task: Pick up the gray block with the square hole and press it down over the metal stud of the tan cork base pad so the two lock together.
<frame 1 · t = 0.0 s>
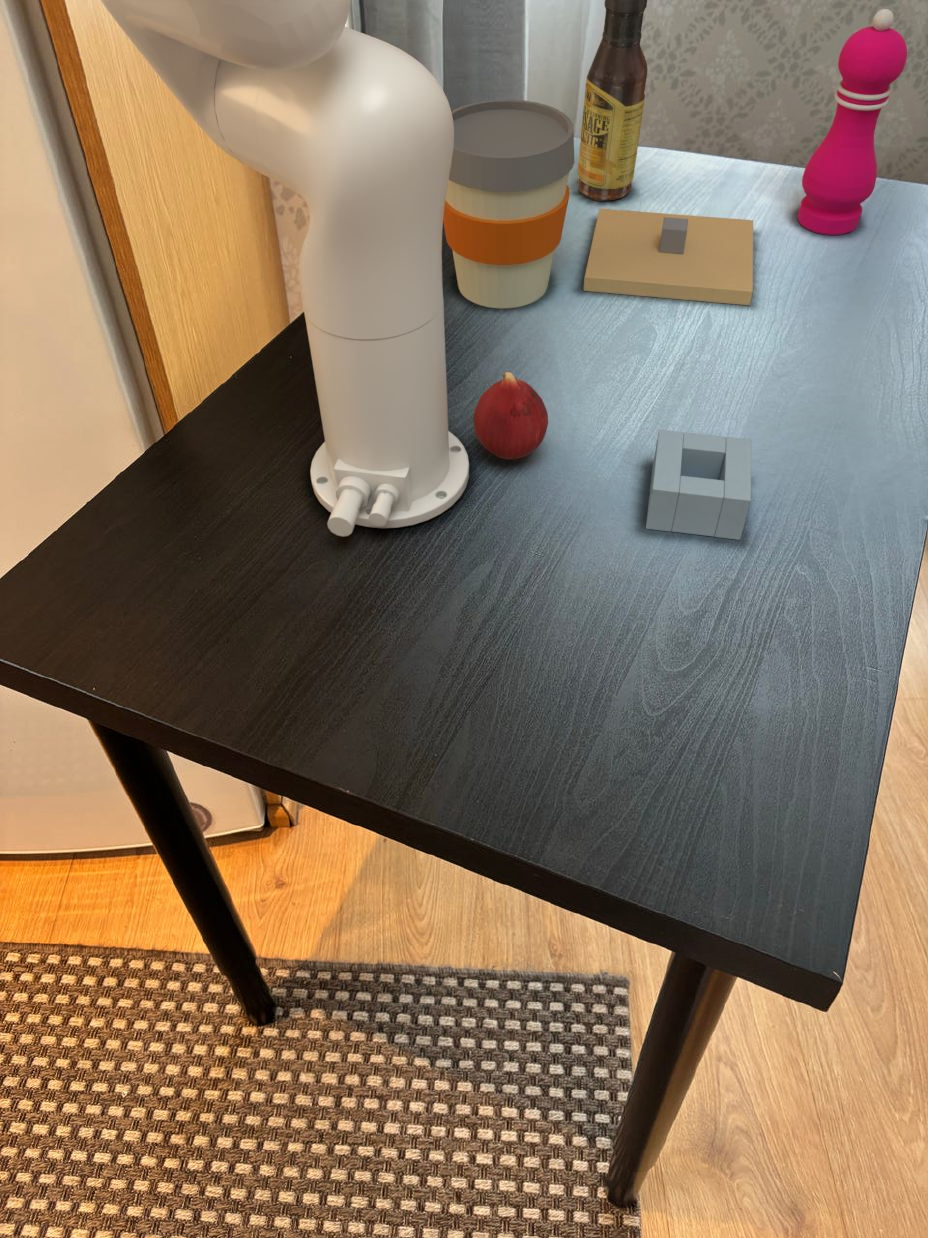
onion: (509, 458, 79), on the table
sauce bottle: (604, 193, 108), on the table
gray block: (694, 503, 75), on the table
pepper mill: (826, 222, 103), on the table
base pad: (669, 261, 98), on the table
reusable coffee cup: (502, 285, 96), on the table
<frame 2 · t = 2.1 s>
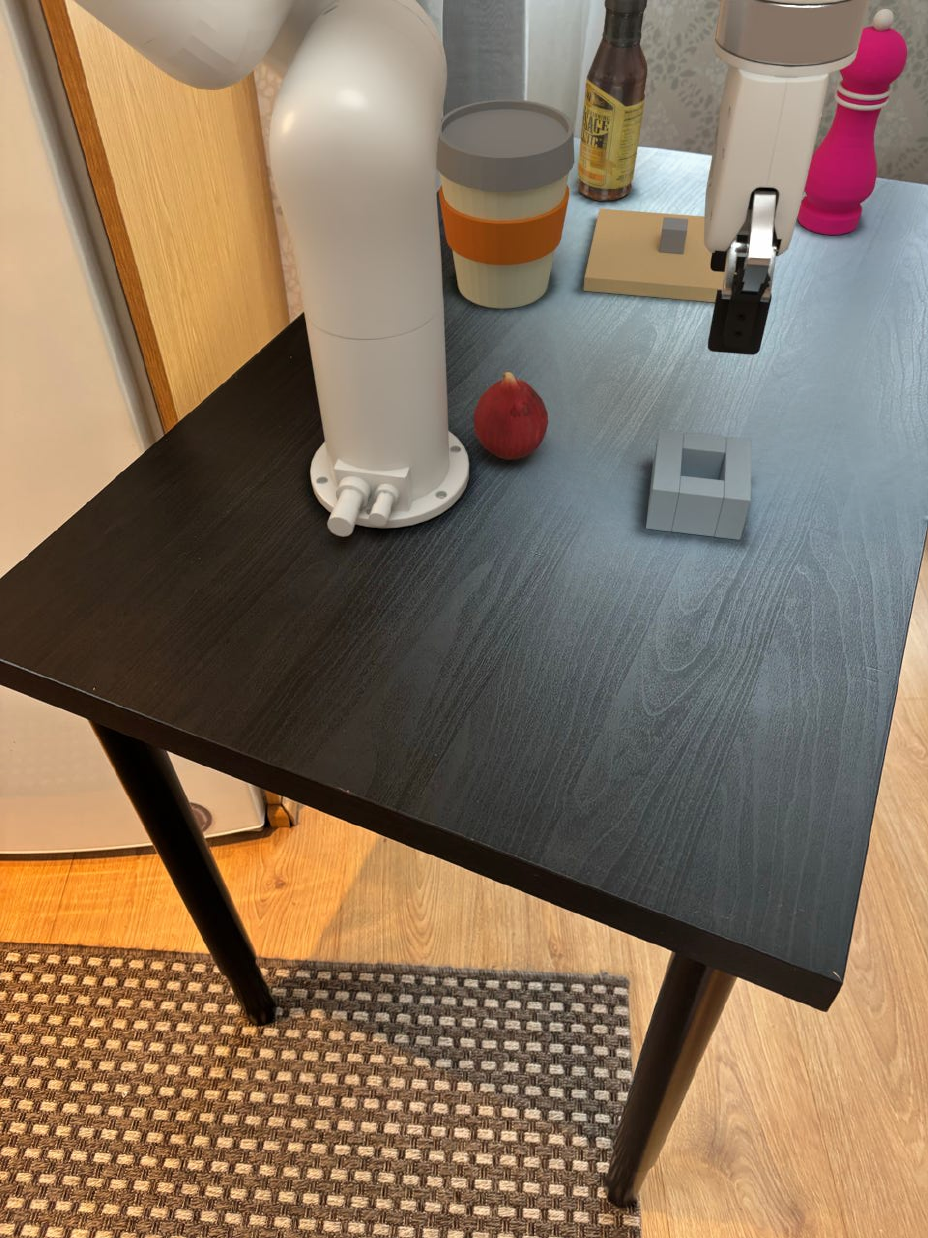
hand: (732, 308, 64), 16 cm above the table, tool pointing down, fingers open, 9 cm apart
nothing on the table moved.
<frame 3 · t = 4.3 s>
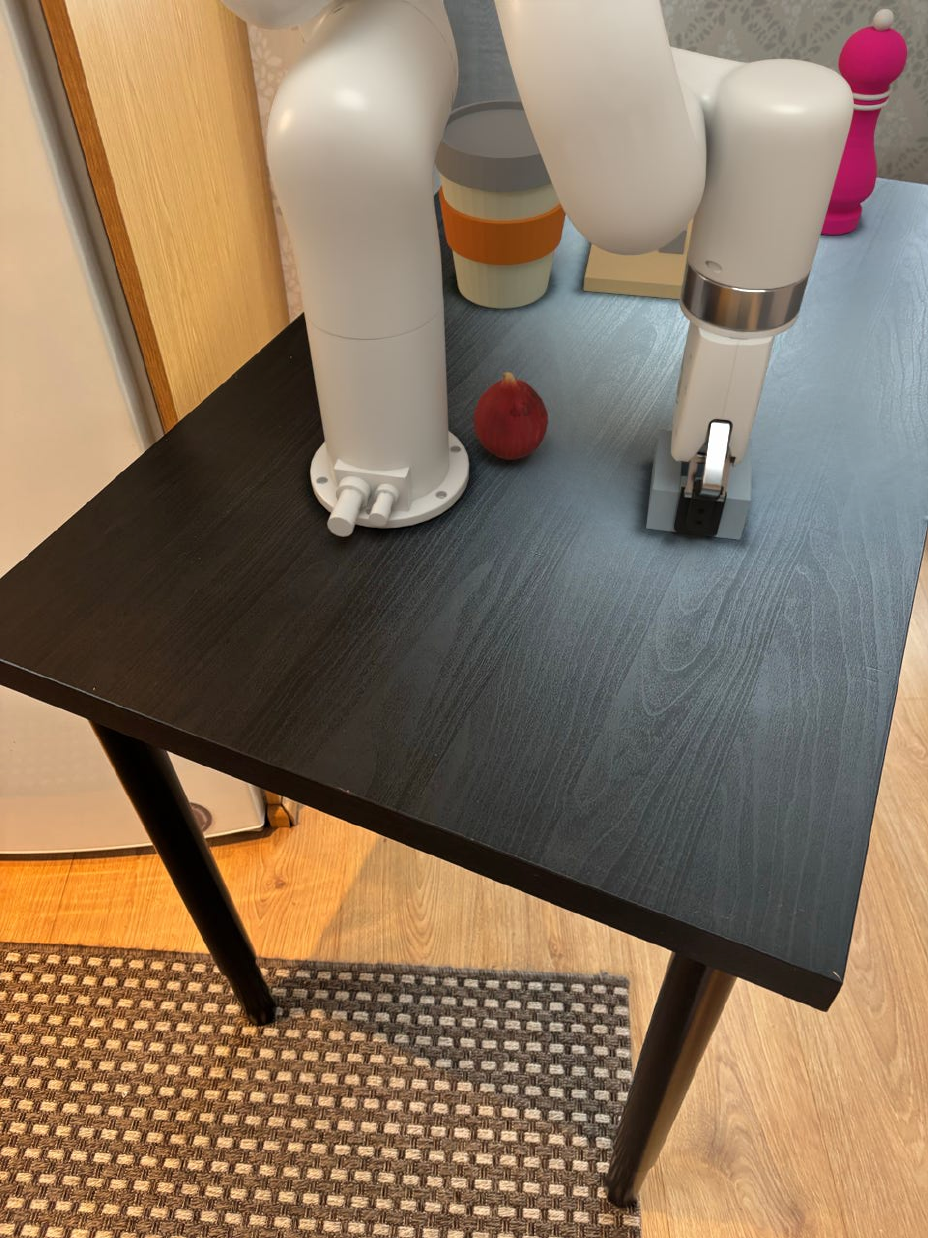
hand: (697, 495, 74), 1 cm above the table, tool pointing down, fingers closed on gray block, 7 cm apart
gray block: (694, 503, 75), on the table, touching gripper
everything else where it was.
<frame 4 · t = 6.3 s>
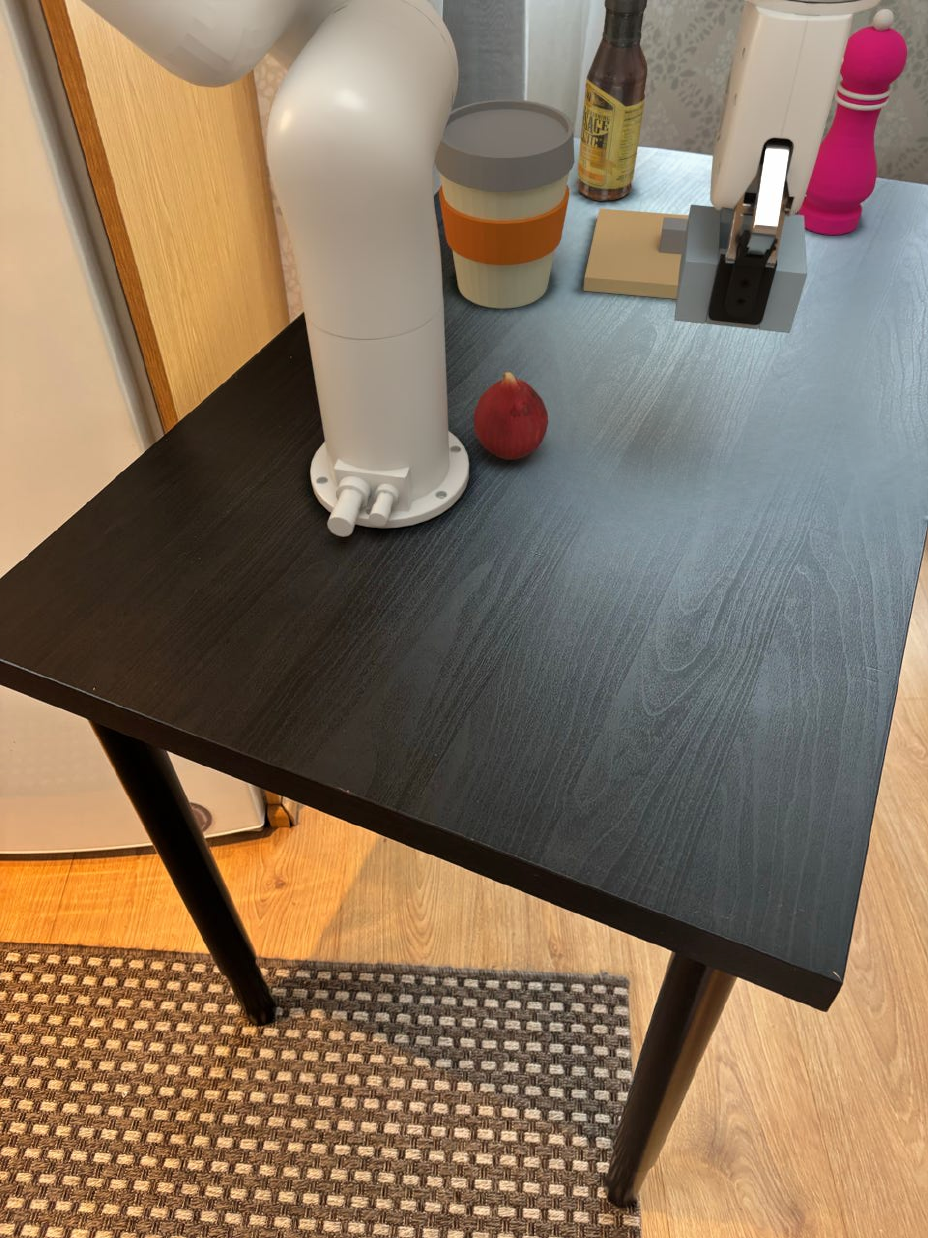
hand: (735, 284, 61), 19 cm above the table, tool pointing down, fingers closed on gray block, 7 cm apart
gray block: (732, 296, 61), point 18 cm above the table, touching gripper
everything else where it was.
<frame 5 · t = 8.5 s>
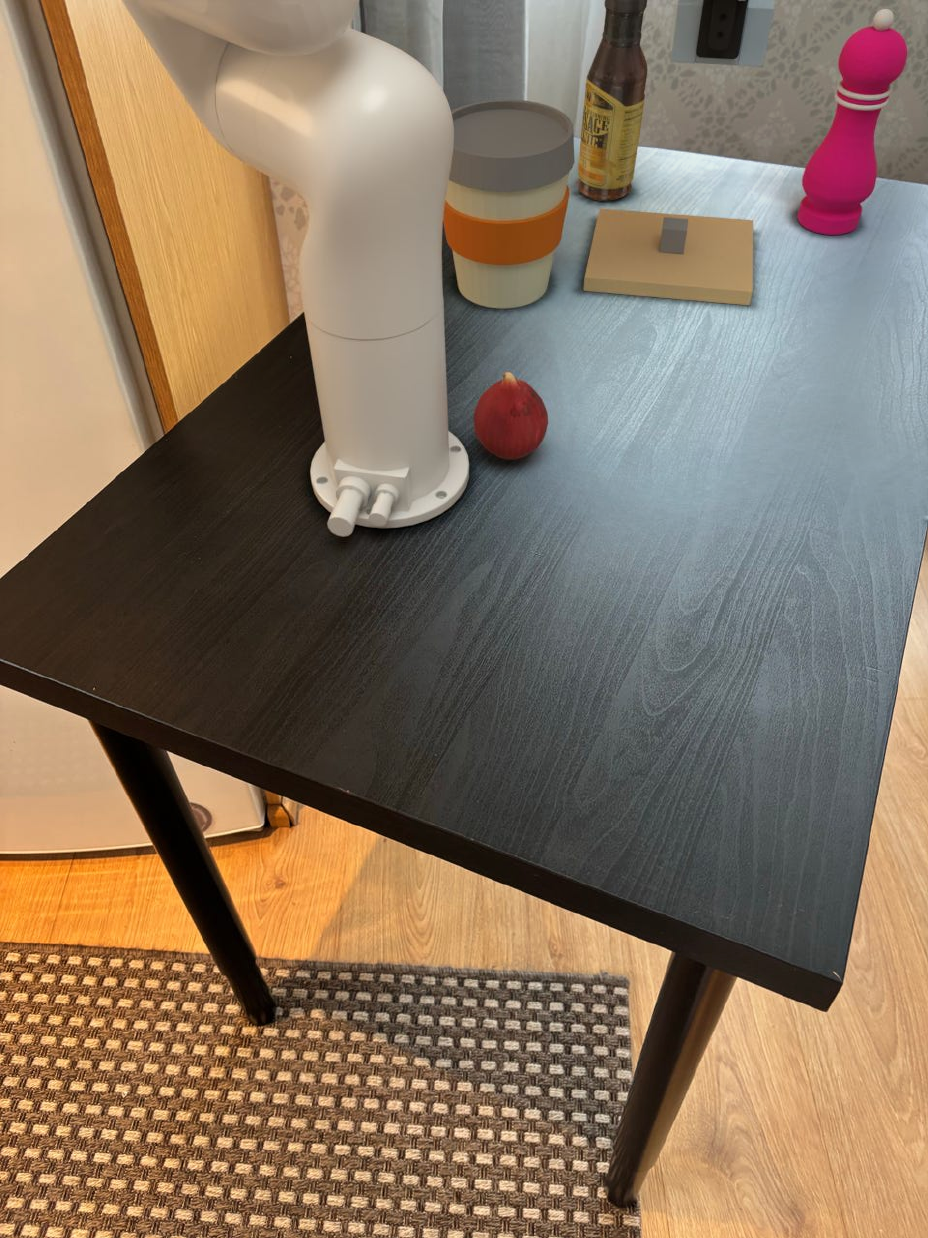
hand: (719, 35, 76), 23 cm above the table, tool pointing down, fingers closed on gray block, 7 cm apart
gray block: (718, 47, 77), point 22 cm above the table, touching gripper
everything else where it was.
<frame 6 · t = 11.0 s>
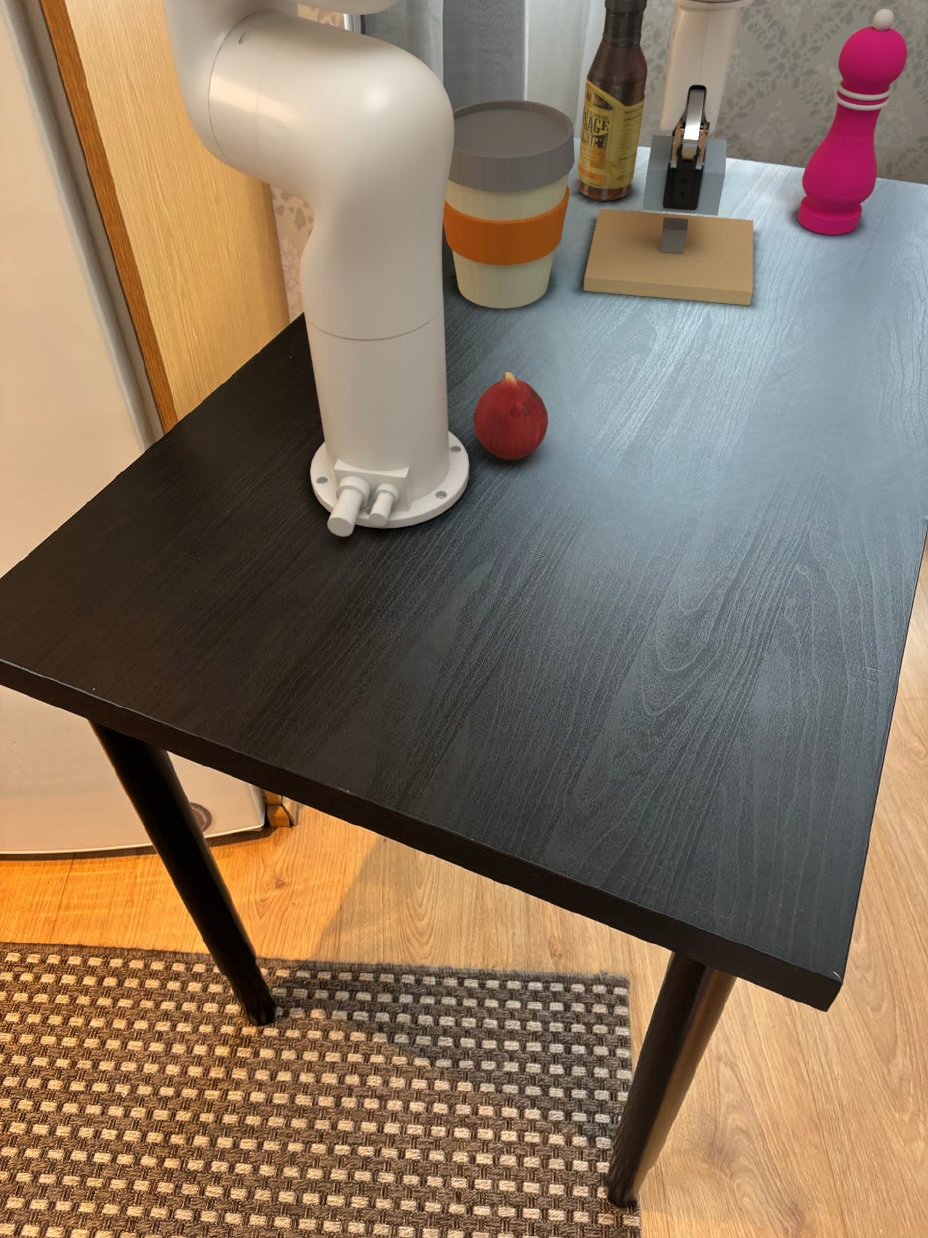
hand: (681, 186, 93), 8 cm above the table, tool pointing down, fingers closed on gray block, 7 cm apart
gray block: (681, 195, 93), point 7 cm above the table, touching gripper
everything else where it was.
when the fingers open (2 cm above the table, at t = 13.0 s): gray block stays where it is, resting on base pad.
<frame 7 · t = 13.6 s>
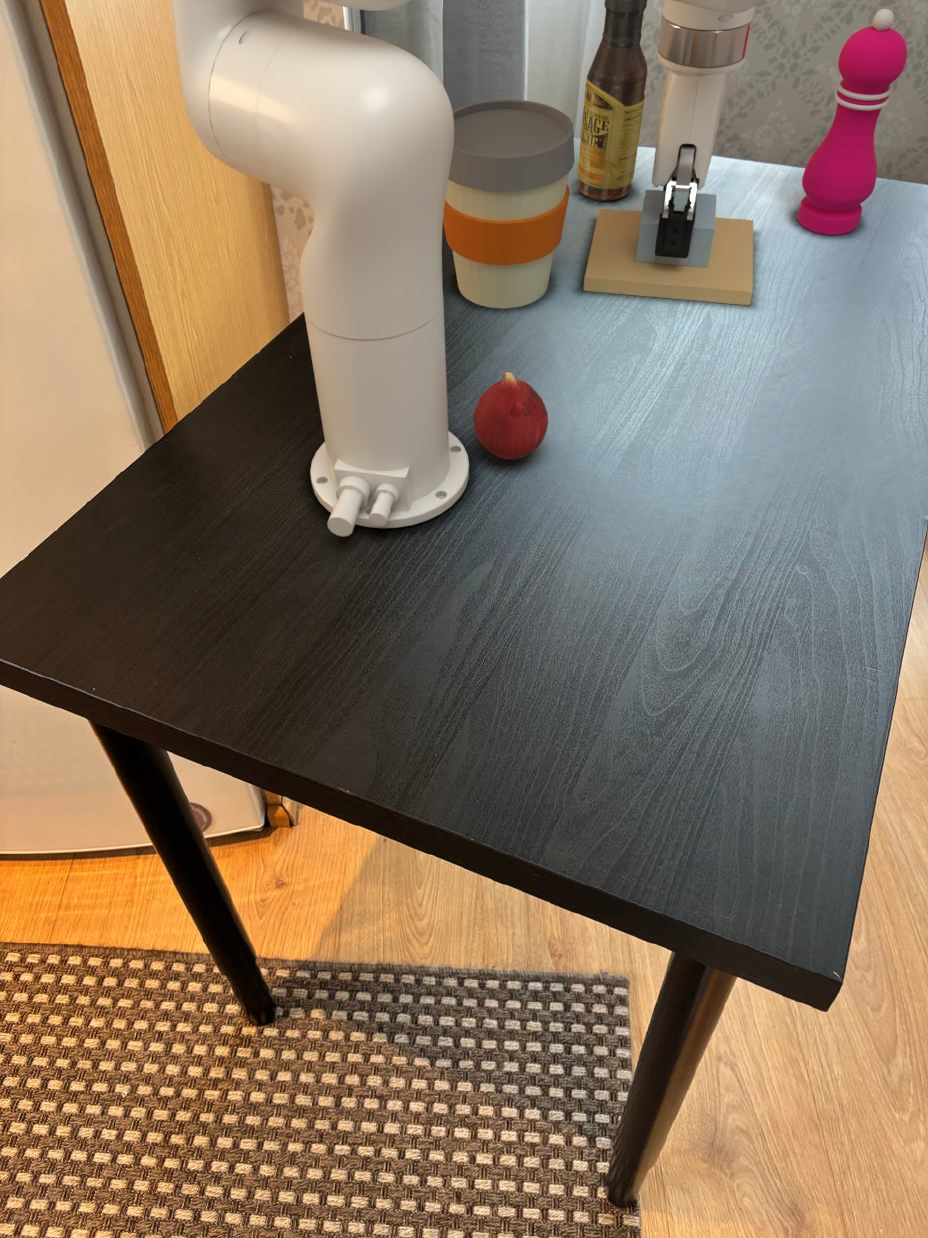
hand: (673, 230, 96), 3 cm above the table, tool pointing down, fingers open, 9 cm apart
gray block: (673, 246, 97), point 1 cm above the table, touching base pad
everything else where it was.
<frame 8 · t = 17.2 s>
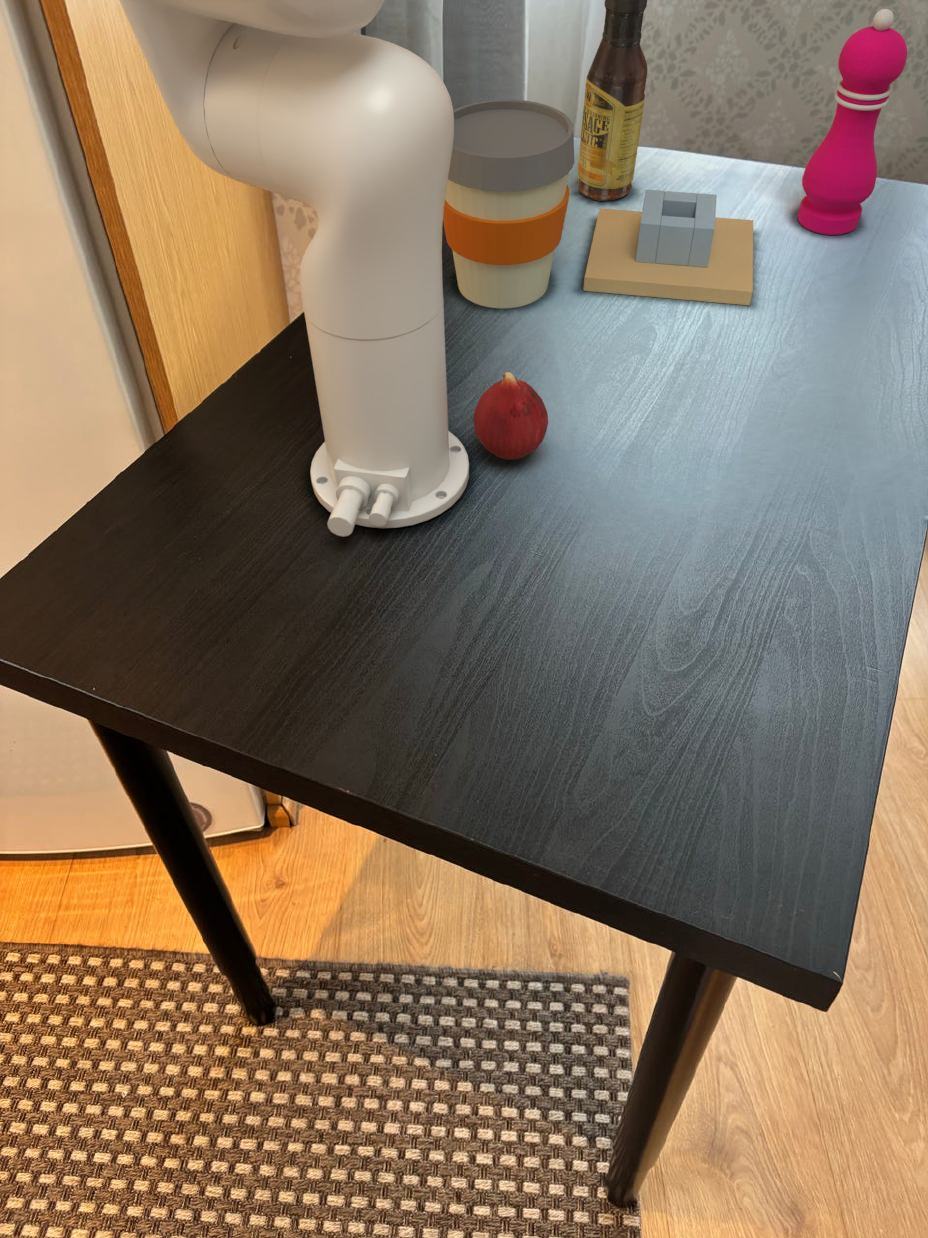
nothing on the table moved.
at the end: gray block 0.1 cm off-centre on the base pad, point 1.5 cm above the base pad's base; gray block tilted 0° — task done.
